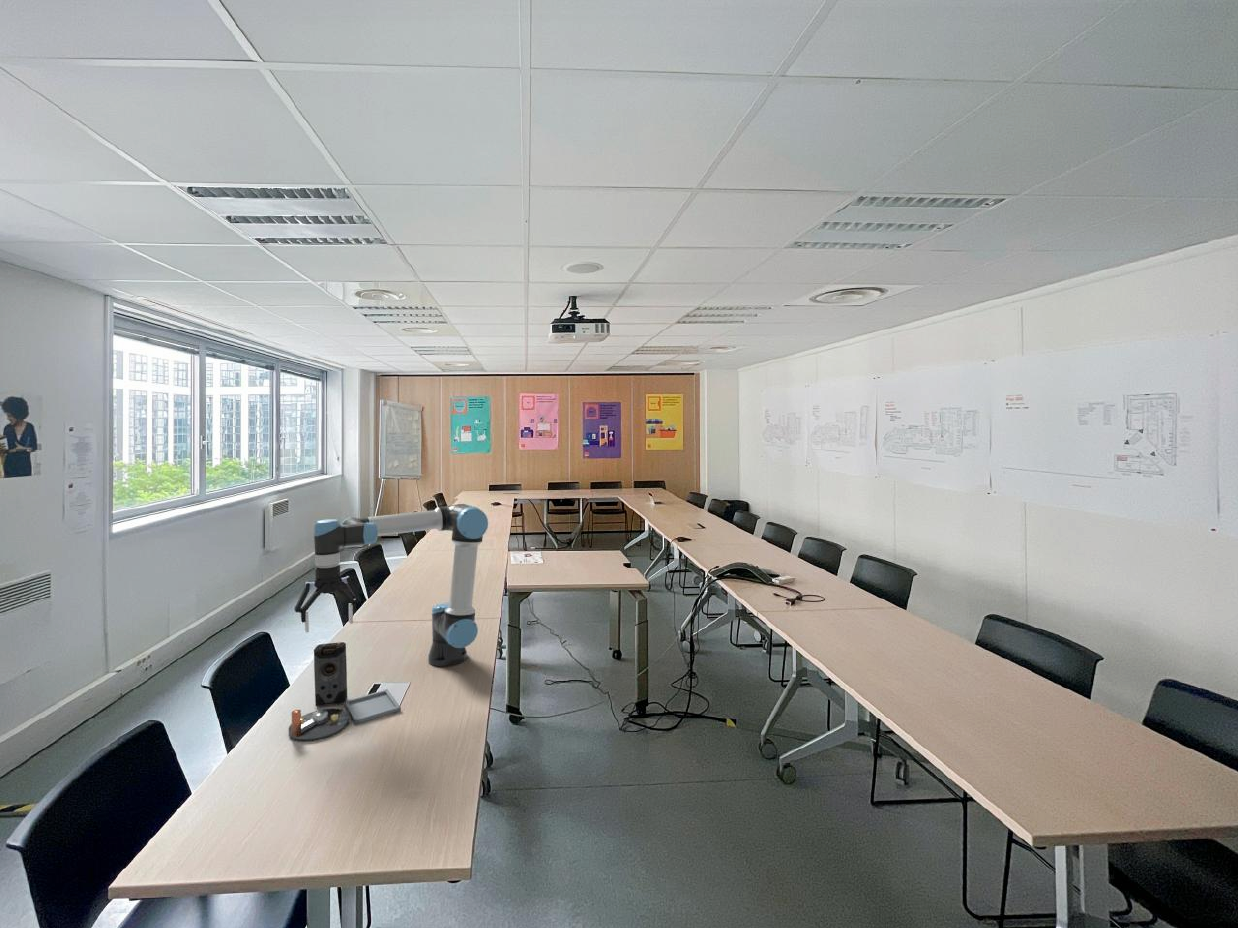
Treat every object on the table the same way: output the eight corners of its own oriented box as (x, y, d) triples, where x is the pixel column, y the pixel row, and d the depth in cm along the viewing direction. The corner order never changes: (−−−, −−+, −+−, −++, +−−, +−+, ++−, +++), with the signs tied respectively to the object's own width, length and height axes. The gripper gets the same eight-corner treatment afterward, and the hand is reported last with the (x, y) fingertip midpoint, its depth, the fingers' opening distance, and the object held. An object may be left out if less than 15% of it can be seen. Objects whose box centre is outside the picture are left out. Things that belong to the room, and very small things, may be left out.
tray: (387, 693, 194) (387, 689, 194) (400, 711, 181) (400, 707, 181) (344, 705, 185) (344, 701, 185) (355, 725, 173) (355, 720, 173)
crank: (320, 716, 175) (320, 695, 174) (330, 719, 173) (330, 697, 173) (287, 734, 164) (287, 712, 164) (298, 737, 163) (297, 715, 162)
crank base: (343, 707, 184) (343, 696, 184) (355, 729, 171) (355, 716, 170) (285, 724, 173) (284, 712, 173) (292, 748, 160) (292, 735, 160)
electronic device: (314, 708, 183) (312, 650, 182) (318, 700, 189) (317, 644, 188) (344, 705, 186) (343, 647, 185) (348, 697, 192) (346, 641, 191)
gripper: (364, 558, 196) (365, 616, 197) (283, 568, 180) (285, 631, 181) (369, 562, 190) (371, 622, 191) (286, 573, 174) (288, 638, 175)
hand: (329, 626), depth 186 cm, fingers open, 13 cm apart
